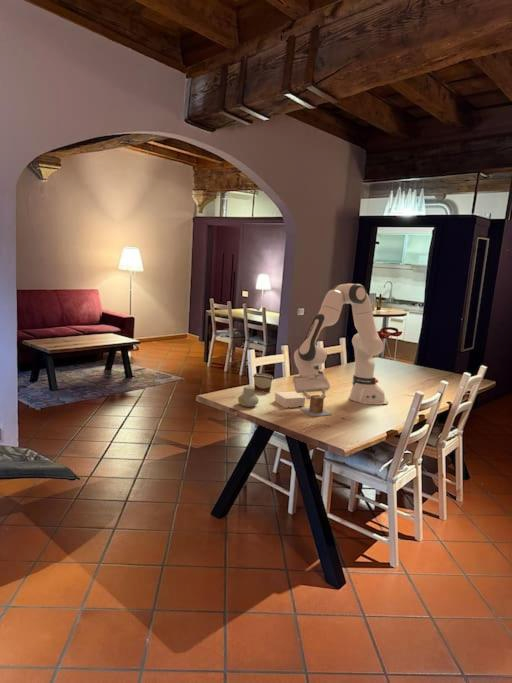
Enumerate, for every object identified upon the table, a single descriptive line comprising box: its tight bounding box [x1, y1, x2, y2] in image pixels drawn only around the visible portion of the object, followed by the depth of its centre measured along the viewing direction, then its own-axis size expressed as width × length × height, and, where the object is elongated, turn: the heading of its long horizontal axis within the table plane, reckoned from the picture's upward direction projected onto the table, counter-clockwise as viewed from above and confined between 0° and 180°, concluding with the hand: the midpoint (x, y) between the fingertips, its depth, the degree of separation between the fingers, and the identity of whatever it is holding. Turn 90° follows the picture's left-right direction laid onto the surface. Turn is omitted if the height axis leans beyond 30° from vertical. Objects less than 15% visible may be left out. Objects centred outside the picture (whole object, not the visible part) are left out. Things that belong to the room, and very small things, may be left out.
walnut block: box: [309, 394, 325, 413], centre depth 244 cm, size 5×5×8 cm
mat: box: [299, 407, 332, 418], centre depth 245 cm, size 12×12×1 cm
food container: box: [252, 372, 274, 394], centre depth 279 cm, size 12×6×10 cm, turn 71°
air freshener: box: [237, 385, 259, 408], centre depth 248 cm, size 11×8×10 cm
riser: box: [274, 390, 306, 409], centre depth 256 cm, size 12×12×5 cm
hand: (316, 398), depth 244 cm, fingers open, 8 cm apart
